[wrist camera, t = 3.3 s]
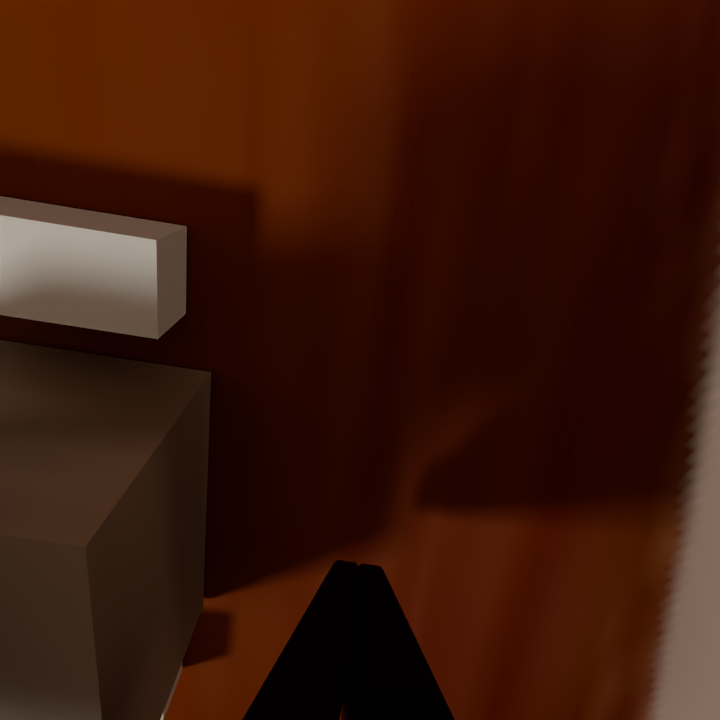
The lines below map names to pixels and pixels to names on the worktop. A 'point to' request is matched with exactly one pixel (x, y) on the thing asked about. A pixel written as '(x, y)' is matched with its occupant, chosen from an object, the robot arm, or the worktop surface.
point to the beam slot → (91, 272)
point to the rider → (98, 531)
